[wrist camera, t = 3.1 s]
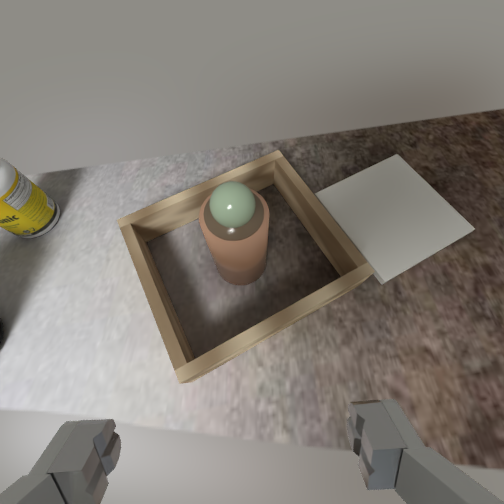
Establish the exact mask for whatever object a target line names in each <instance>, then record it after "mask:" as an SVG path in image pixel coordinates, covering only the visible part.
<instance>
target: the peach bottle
mask: <svg viewBox="0 0 504 504" xmlns="http://www.w3.org/2000/svg"><path fill="white" fill-rule="evenodd" d="M199 223H200V226H201V229H202V231H203V234H204V236H205V239H206V242H207V244H208V247H209V249H210V252H211V254H212V257H213V260H214V262H215V265H216V267H217V270H218V272H219V274H220V276H221V277H222V278H223V279H224V280H226V281H227V282H229V283H231V284H234V285H247V284H250V283H253V282H254V281H256V280H257V279H259V277H260V276H261V275H262V274H263V272H264V270H265V267H266V257H267V243H268V228H269V208H268V205H267V203H266V201H265V200H264V198H263V197H262V196H261V195H260V194H259V193H257V192H256V191H254V190H252V189H250V188H248V187H247V186H246V185H244V184H242V183H240V182H236V181H229V182H225V183H222V184H220V185H219V186H218V187H217V188H216V189H215V190H214V191H213V193H212V194H211V195H209V196H208V197H207V198H206V199H205V201H204V202H203V204H202V206H201V208H200V212H199Z"/></svg>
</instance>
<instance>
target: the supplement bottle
mask: <svg viewBox="0 0 504 504" xmlns="http://www.w3.org/2000/svg"><path fill="white" fill-rule="evenodd" d="M59 215H60V209H59V206H58V205H57V203H56V202H55V201H54V200H53V199H52V198H50V197H49V196H48V195H47V194H46V193H45V192H43V191H42V190H41V189H40V188H39V187H37V186H36V185H35V184H34V183H33V182H31V181H30V180H29V179H28V178H27V177H25V176H24V175H23V174H22V173H20V172H19V171H18V170H17V169H16V168H15V167H13V166H12V165H11V164H10V163H8V162H7V161H6V160H4V159H3V158H0V227H2V228H4V229H6V230H7V231H9V232H11V233H13V234H14V235H16V236H19V237H22V238H34V237H38V236H41V235H43V234H45V233H47V232H48V231H49V230H50V229H52V228H53V226H54V225H55V224H56V222H57V221H58V218H59Z"/></svg>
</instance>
